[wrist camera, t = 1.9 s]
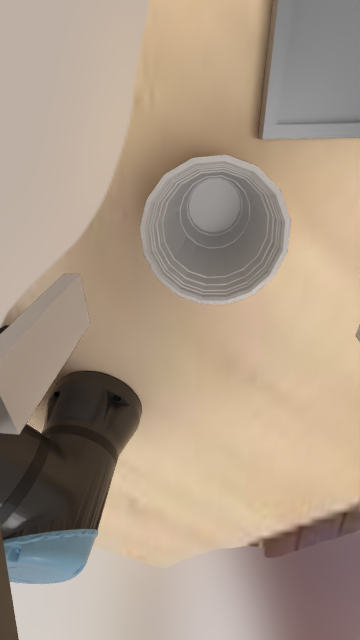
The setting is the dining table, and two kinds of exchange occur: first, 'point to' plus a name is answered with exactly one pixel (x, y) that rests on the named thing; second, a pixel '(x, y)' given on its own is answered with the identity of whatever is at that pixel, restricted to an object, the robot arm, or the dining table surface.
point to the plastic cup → (215, 229)
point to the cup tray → (312, 71)
